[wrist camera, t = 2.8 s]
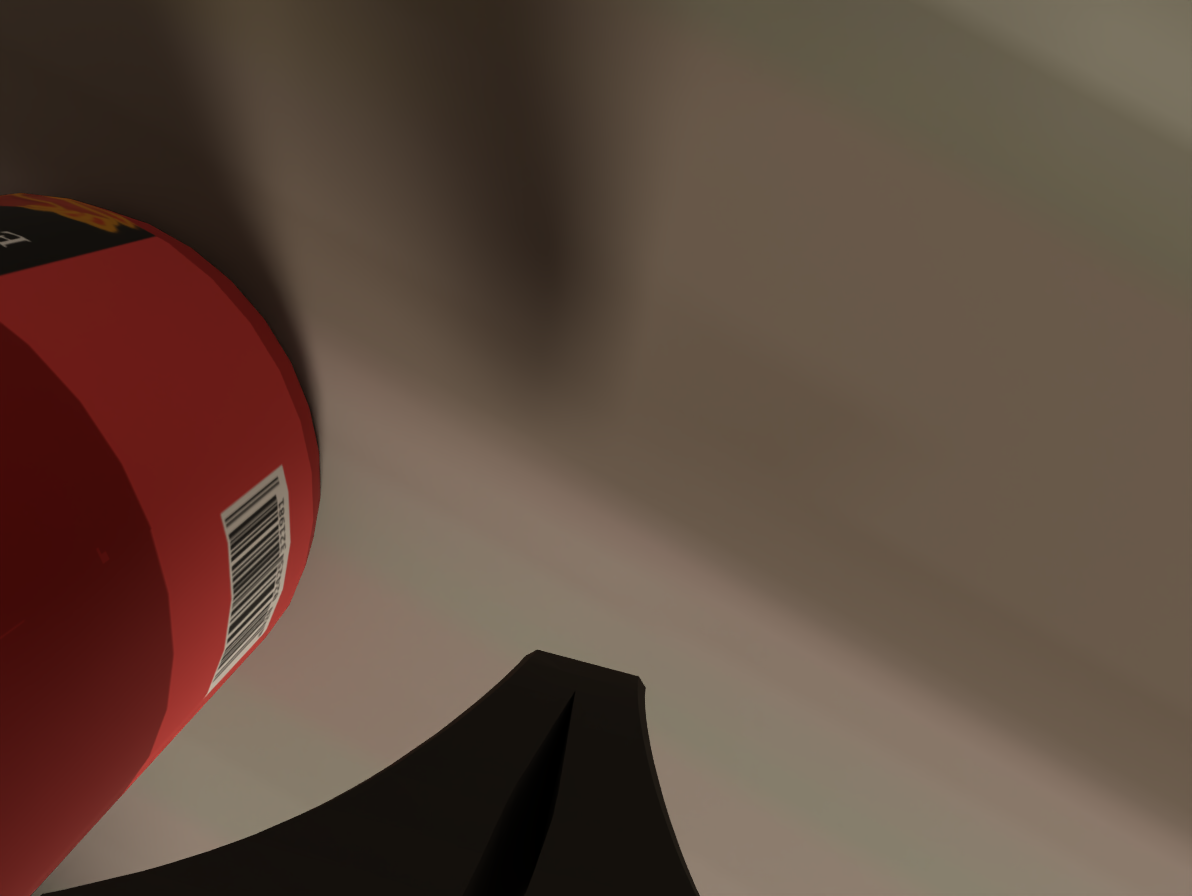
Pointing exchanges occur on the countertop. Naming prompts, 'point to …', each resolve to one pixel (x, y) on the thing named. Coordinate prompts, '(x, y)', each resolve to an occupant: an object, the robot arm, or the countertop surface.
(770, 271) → the countertop surface
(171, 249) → the canned food
